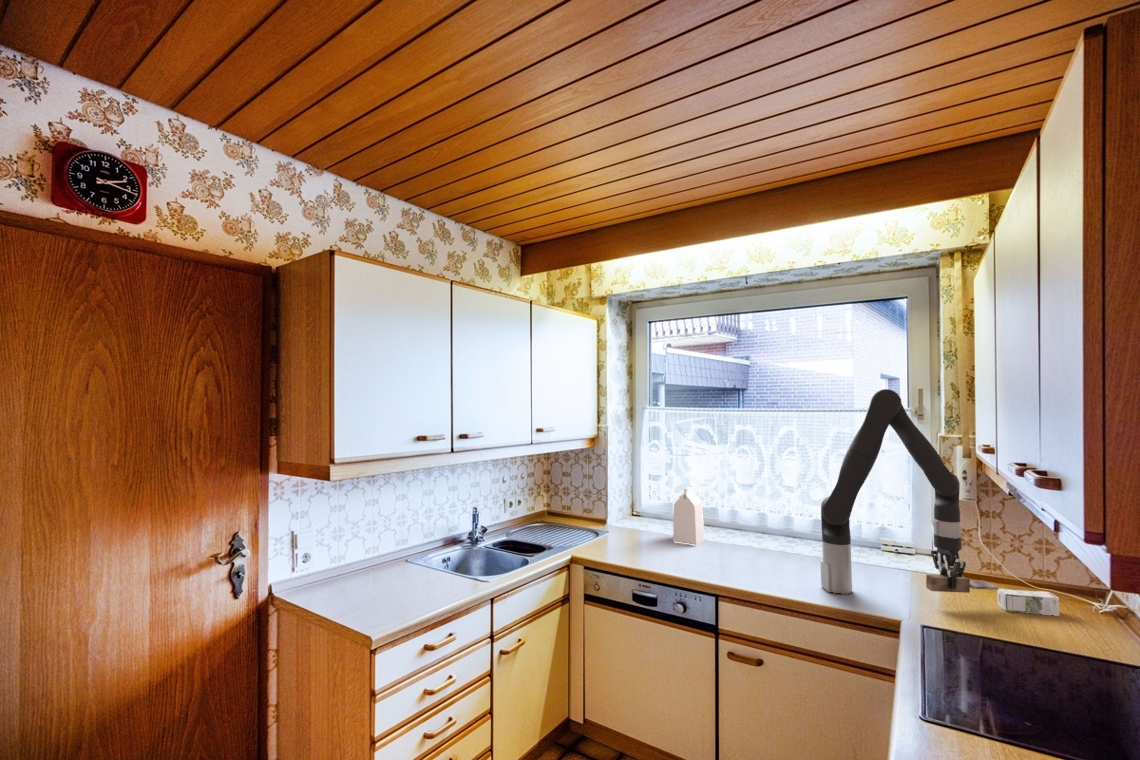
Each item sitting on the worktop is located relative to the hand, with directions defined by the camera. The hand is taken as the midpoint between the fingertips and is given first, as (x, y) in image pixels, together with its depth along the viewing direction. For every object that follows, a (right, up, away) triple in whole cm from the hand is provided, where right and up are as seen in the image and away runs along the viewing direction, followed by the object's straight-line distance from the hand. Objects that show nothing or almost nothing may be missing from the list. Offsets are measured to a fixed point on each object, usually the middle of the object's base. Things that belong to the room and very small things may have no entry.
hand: (948, 586), depth 174 cm
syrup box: (+16, -4, -2) cm, 16 cm away
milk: (-67, -10, +82) cm, 106 cm away
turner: (+4, -1, 0) cm, 4 cm away
